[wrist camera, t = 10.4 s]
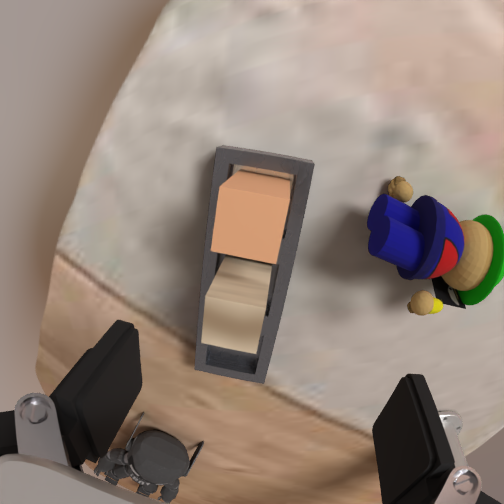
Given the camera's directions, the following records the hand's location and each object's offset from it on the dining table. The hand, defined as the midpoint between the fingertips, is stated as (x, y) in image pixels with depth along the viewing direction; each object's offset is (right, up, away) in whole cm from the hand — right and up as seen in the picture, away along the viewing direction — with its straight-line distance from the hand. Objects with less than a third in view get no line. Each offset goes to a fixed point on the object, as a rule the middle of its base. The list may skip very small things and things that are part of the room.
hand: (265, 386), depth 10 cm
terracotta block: (0, +9, +18) cm, 20 cm away
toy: (+17, +6, +18) cm, 26 cm away
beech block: (-1, +2, +21) cm, 21 cm away
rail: (-1, +2, +22) cm, 22 cm away
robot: (-20, -35, +40) cm, 56 cm away
